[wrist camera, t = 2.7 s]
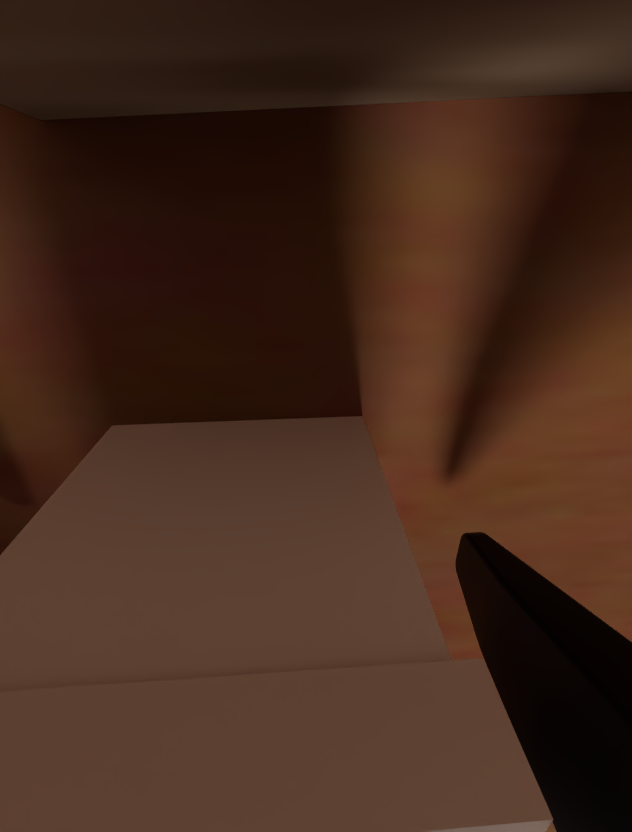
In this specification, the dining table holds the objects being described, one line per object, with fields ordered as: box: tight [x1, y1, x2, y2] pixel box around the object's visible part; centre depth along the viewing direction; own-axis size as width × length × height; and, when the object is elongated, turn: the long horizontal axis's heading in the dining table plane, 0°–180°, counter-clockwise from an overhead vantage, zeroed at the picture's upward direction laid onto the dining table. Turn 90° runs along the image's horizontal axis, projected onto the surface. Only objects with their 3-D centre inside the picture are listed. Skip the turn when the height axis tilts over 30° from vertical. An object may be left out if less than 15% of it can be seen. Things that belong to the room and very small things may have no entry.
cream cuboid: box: [0, 416, 553, 832], centre depth 6 cm, size 5×5×6 cm
